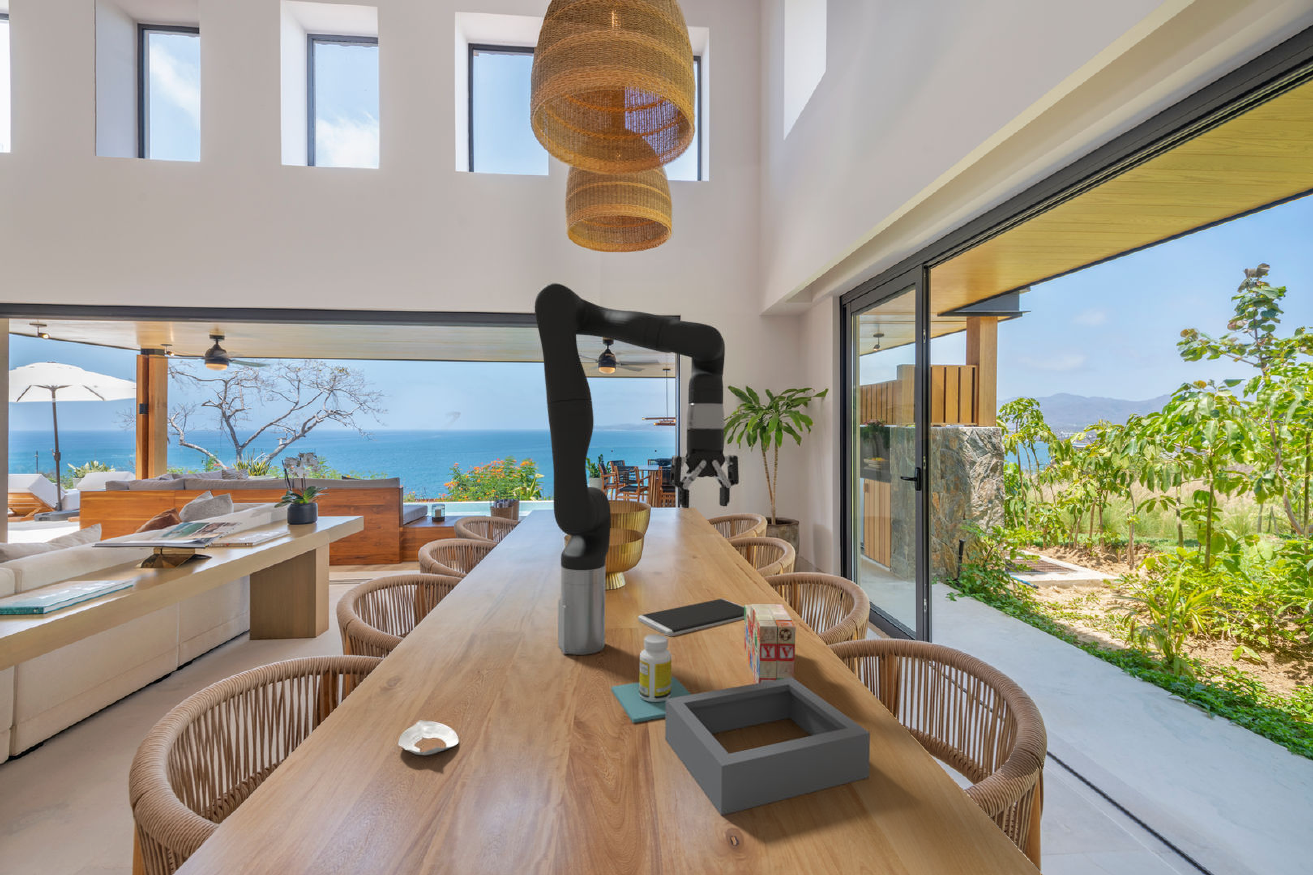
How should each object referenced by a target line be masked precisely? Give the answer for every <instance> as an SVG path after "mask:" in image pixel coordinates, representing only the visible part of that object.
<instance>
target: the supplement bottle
mask: <svg viewBox="0 0 1313 875" xmlns="http://www.w3.org/2000/svg"><path fill="white" fill-rule="evenodd" d="M643 639H644V640H643V641H644V642H643V646H644V649H642V650H641V651H640V654H639V678H638V679H639V681H638V682H639V694H640V697H641V698H642V699H643V700H646V701H649V702H662V701H665V700H666V699H668V698H669V697H670V695H671V677H672V653H671V652H670V650H669V649H667V648H668V646H669V645H668V636H666V635H664V634H663V635H661V634H648V635H645V637H644V638H643Z"/></svg>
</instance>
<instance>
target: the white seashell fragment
mask: <svg viewBox="0 0 1313 875" xmlns="http://www.w3.org/2000/svg"><path fill="white" fill-rule="evenodd" d="M423 738H424V739H434V738H435V739H439V740H442V741H443V742H444V743H445V745H446V746H444V747H439V746H435V747H433V748H432V749H431V748H430V749H428V750H425V751H421V749H420V748H419V747H417V746H415V745H416V744H417V743H418V742H419V741H421V740H423ZM397 743H398V746H399V747H401V748H403V749H404V750H405V751H408V752H410V753H413V754H414V755H419V756H429V755H434V754H437V753H440V752H443V751H445V750H448V749H450V748H451V749H452V747H453V748H454V747H455V746H456V745H457V744H459V737H458V734H457V733H456V731H455V730H454V729H453V728H451V727H450V726H448V725H446V724H444V723H441V722H436V721H433V720H421V719H419V720H418V721H417V722H416V723H415V724H414V725H413V726H412V725H411V727H408V728H407V729H405V731H403V732H402V734H401V736H400V737H399V739H398V742H397Z"/></svg>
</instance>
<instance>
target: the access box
mask: <svg viewBox="0 0 1313 875" xmlns="http://www.w3.org/2000/svg"><path fill="white" fill-rule="evenodd" d="M664 718H665V719H664V720H665V727H664V728H665V729H664V730H665V732H664V733H665V734H664V735H665V736H664V738H665V741H666V742H667V744H668V745H669V746H670V747H671V750H673V752H674V754H676V756H677V757H678V758H680V759H679V760H680V761H681V763H682V762H683V763H682V764H683V765H684V767H685V768H686V770H687V771H688V773H689V774H690V775H691V776H692V778H693V779H694V780H695V782H696V783H697V784H698V786H699V787H700V789H701V790H702V791H703V793H704V794H705V796H706V797H707V798H708V800H710V802H711V803H712V805H713V807H714V808H715V809H716V811H718V813H719V814H720V816H724V815H728V814H729V815H730V814H733V813H737V812H739V811H744V810H747V809H752V808H757V807H760V806H764V805H767V804H771V803H774V802H779V801H783V800H787V799H790V798H794V797H799V796H802V795H806V794H809V793H815V792H817V791H821V790H825V789H829V788H833V787H837V786H841V785H845V784H849V783H853V782H857V781H860V780H865V779H868V778H870V755H871V754H870V748H871V746H870V743H871V732H870V731H868V730H867V729H865V728H864V727H862V726H861V724H858V723H857V722H856V721H854V720H853V719H851V718H850V717H848V716H847V715H846V714H844V713H843V712H841V711H840V710H839V709H837V708H836V707H834V706H833V705H832V704H830V703H829V702H827V700H825V699H823V698H821V697H820V696H819V695H817V694H816V693H814V691H812V690H810V689H809V688H807V687H806V686H804V685H803V684H802V683H801V682H799V681H798V680H796V679H795V677H794V678H792V677H791V678H786V679H780V680H774V681H768V682H762V683H756V684H755V683H751V684H746V685H740V686H734V687H728V688H727V687H726V688H723V689H717V690H710V691H706V692H700V693H693V694H692V693H691V695H686V696H680V697H675V698H669V699H666V717H664ZM782 719H783V720H786V719H787V720H788V719H790V720H791V721H792V722H794V723H795V724H796V725H797V726H798V727H800V728H801V729H802V730H803V731H804V732H806V733H807V734H808V735H809V736H806V737H800V738H796V739H790V740H786V741H782V742H777V743H772V744H769V745H763V746H759V747H754V748H749V749H744V750H741V751H735V752H731V753H729V752H728V751H727V750H726V749H725V747H723V745H721V743H720V742H719V741H718V740H717V739H716V738H715V736H713V734H717V732H718V733H722V732H727V731H731V730H737V729H741V728H747V727H752V725H753V726H756V725H757V724H758V725H762V724H761V723H763V724H767V723H772V722H776V721H783V720H782Z"/></svg>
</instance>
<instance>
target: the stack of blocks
mask: <svg viewBox="0 0 1313 875" xmlns="http://www.w3.org/2000/svg"><path fill="white" fill-rule="evenodd" d="M743 607H744V619H743V620H744V649H745V655H746V657H747V661H748V664H749V666H751V667H750V669H752V670H751V672H753V673H752V674H753V675H752V676H753V680H754V684H755V683H762V682H768V681H774V680H780V679H786V678H791V677H792V678H794V679H795V661H796V630H797V626H796V625H795V624H794V621H793V619H792V618H791V615H789V613H788V612H787V610H786V608H784V606H783V605H782V604H781V603H775V604H772V603H769V604H768V603H765V604H764V603H763V604H759V603H750V604H744V605H743Z"/></svg>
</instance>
